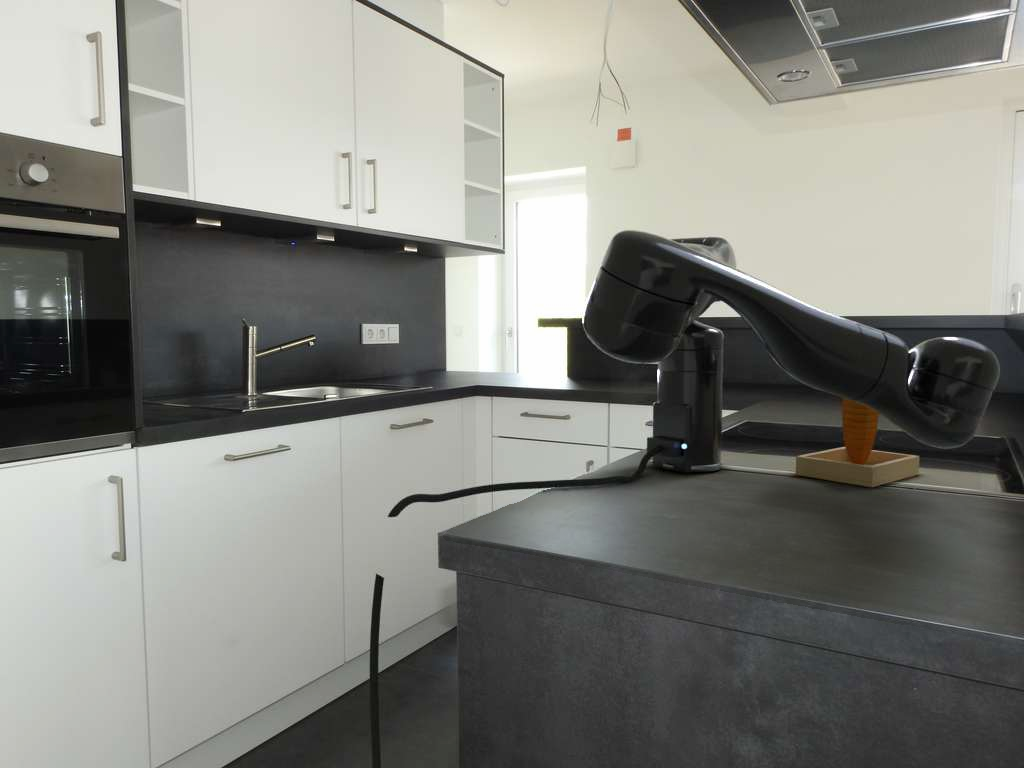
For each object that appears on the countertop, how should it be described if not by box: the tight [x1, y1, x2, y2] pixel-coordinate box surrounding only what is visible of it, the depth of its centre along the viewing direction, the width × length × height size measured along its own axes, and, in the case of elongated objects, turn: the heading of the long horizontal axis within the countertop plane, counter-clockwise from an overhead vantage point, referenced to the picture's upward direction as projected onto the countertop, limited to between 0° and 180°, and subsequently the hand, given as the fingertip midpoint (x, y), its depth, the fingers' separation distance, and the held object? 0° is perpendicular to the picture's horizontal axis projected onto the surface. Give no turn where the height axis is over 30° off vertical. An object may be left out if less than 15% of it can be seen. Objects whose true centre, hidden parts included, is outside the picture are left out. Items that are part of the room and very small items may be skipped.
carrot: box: [841, 397, 880, 465], centre depth 99 cm, size 5×5×15 cm
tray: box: [795, 446, 920, 488], centre depth 100 cm, size 14×11×3 cm
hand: (856, 373), depth 101 cm, fingers open, 8 cm apart
